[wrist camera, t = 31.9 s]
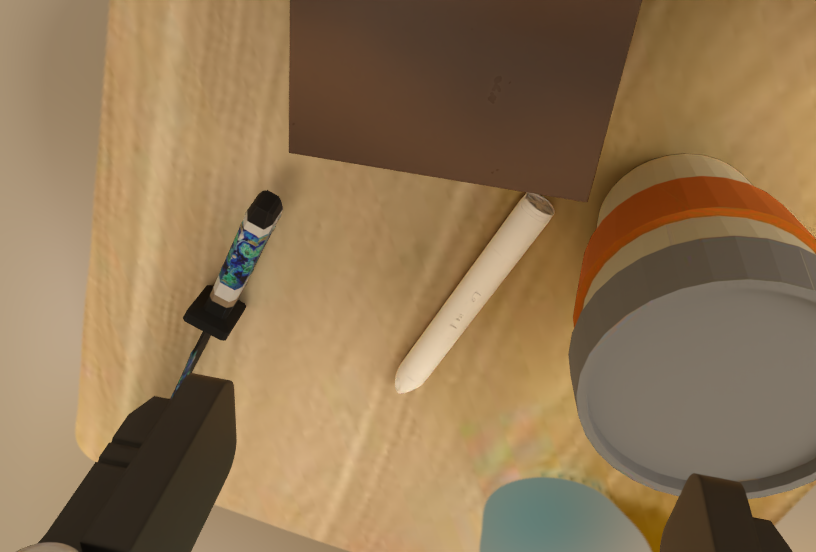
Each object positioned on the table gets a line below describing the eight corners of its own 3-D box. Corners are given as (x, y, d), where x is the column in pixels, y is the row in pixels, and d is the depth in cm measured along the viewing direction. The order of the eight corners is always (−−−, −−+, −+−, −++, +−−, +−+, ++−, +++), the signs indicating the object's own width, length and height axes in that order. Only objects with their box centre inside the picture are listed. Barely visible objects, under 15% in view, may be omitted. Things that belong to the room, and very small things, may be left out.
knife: (278, 160, 43) (248, 200, 39) (322, 188, 43) (296, 230, 40) (137, 409, 62) (108, 451, 58) (168, 427, 62) (141, 469, 59)
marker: (412, 389, 53) (407, 412, 51) (387, 376, 52) (381, 398, 50) (555, 203, 43) (555, 223, 41) (525, 186, 42) (523, 204, 41)
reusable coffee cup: (584, 325, 47) (594, 512, 35) (547, 148, 41) (543, 299, 29) (797, 297, 43) (893, 496, 31) (791, 98, 37) (909, 247, 25)
